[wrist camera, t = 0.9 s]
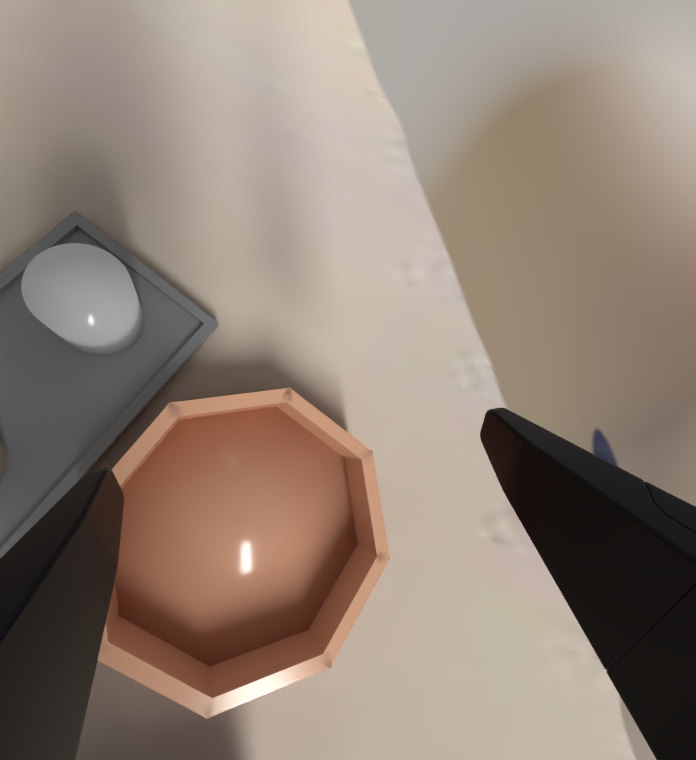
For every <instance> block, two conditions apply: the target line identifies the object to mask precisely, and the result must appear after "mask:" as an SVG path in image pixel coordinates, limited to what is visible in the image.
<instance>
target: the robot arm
mask: <svg viewBox="0 0 696 760" xmlns="http://www.w3.org/2000/svg"><path fill="white" fill-rule="evenodd" d="M480 437H481V441H482V444H483V446H484V448H485V451H486V453H487V455H488V457H489V460H490V462H491V464H492V467H493V469H494V471H495V473H496V476H497V478H498V480H499V483H500V485H501V487H502V489H503V491H504V493H505V495H506V497H507V498H508V500H509V502H510V504H511V505H512V507H513V509H514V511H515V512H516V514H517V516H518V518H519V519H520V521H521V523H522V525H523V526H524V528H525V530H526V532H527V533H528V535H529V537H530V539H531V540H532V542H533V544H534V546H535V547H536V549H537V551H538V553H539V554H540V556H541V558H542V560H543V561H544V563H545V565H546V567H547V568H548V570H549V572H550V574H551V575H552V577H553V579H554V581H555V582H556V584H557V586H558V588H559V589H560V591H561V593H562V595H563V596H564V598H565V600H566V602H567V603H568V605H569V607H570V609H571V610H572V612H573V614H574V616H575V617H576V619H577V621H578V623H579V624H580V626H581V628H582V630H583V631H584V633H585V635H586V637H587V638H588V640H589V642H590V644H591V645H592V647H593V649H594V650H595V652H596V654H597V656H598V657H599V659H600V661H601V663H602V664H603V666H604V668H605V669H606V670H607V674H608V675H609V677H610V679H611V681H612V682H613V684H614V686H615V688H616V689H617V691H618V693H619V695H620V696H621V698H622V700H623V702H624V703H625V705H626V707H627V709H628V710H629V712H630V714H631V715H632V717H633V719H634V721H635V722H636V724H637V726H638V728H639V730H640V731H641V733H642V735H643V737H644V738H645V740H646V742H647V743H648V745H649V747H650V749H651V750H652V752H653V754H654V756H655V757H656V759H657V760H696V507H695V506H693V505H691V504H689V503H687V502H685V501H683V500H681V499H679V498H677V497H675V496H673V495H671V494H669V493H667V492H665V491H663V490H661V489H659V488H657V487H656V486H654V485H652V484H650V483H648V482H644V481H643V480H642V479H640V478H638V477H636V476H634V475H632V474H630V473H628V472H627V471H625V470H623V469H621V468H619V467H617V466H615V465H613V464H611V463H609V462H607V461H605V460H604V459H602V458H600V457H598V456H596V455H594V454H592V453H590V452H588V451H586V450H584V449H582V448H580V447H578V446H576V445H574V444H573V443H571V442H569V441H567V440H565V439H563V438H561V437H559V436H557V435H555V434H553V433H551V432H550V431H548V430H546V429H544V428H542V427H540V426H538V425H536V424H534V423H532V422H530V421H528V420H527V419H525V418H523V417H521V416H519V415H517V414H515V413H513V412H511V411H509V410H507V409H505V408H495V409H490V410H488V411H487V412H486V415H485V418H484V422H483V425H482V429H481V433H480ZM123 509H124V495H123V491H122V489H121V487H120V485H119V483H118V481H117V479H116V477H115V475H114V473H113V471H112V470H111V469H109V468H104V469H98V470H91V471H89V472H87V473H86V474H85V475H84V476H83V477H82V478H81V479H80V480H79V481H77V482H76V483H75V484H74V485H73V486H72V487H71V488H70V489H69V490H68V491H67V492H66V493H65V494H64V495H63V496H62V497H61V498H60V499H59V500H58V501H57V502H56V503H55V504H54V505H53V506H52V507H51V508H50V509H49V510H48V511H47V512H46V513H45V514H44V515H43V516H42V517H41V518H40V519H39V520H38V521H37V522H36V523H35V524H34V525H33V526H32V527H31V528H30V529H29V530H28V531H27V532H26V533H25V534H24V535H23V536H22V537H21V538H20V539H19V540H18V541H17V542H16V543H15V544H14V545H13V546H12V547H11V548H10V549H9V550H8V551H7V552H6V553H5V554H4V555H3V556H2V557H1V558H0V760H75V759H76V754H77V750H78V745H79V741H80V736H81V732H82V727H83V723H84V718H85V714H86V709H87V705H88V700H89V696H90V691H91V687H92V682H93V678H94V673H95V669H96V664H97V660H98V655H99V651H100V646H101V642H102V637H103V633H104V628H105V624H106V619H107V615H108V610H109V606H110V601H111V597H112V592H113V588H114V583H115V578H116V573H117V568H118V560H119V550H120V540H121V529H122V519H123Z"/></svg>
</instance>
